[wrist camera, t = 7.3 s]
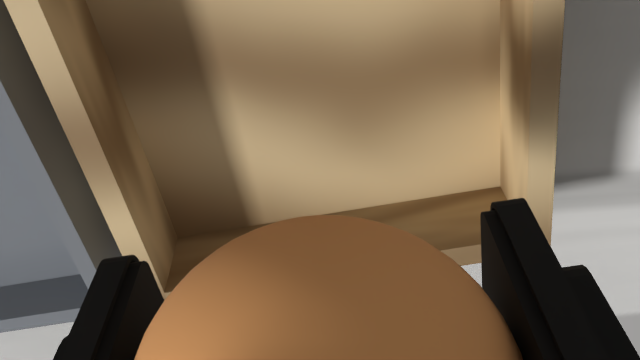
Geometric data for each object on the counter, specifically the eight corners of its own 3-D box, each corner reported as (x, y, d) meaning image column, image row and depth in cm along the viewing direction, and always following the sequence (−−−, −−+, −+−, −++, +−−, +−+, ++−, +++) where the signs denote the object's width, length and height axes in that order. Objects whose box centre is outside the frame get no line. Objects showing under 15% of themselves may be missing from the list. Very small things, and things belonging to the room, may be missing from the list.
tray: (9, -140, 16) (-53, -120, 13) (524, -244, 15) (579, -246, 12) (166, 246, 24) (148, 313, 21) (517, 191, 23) (549, 252, 20)
